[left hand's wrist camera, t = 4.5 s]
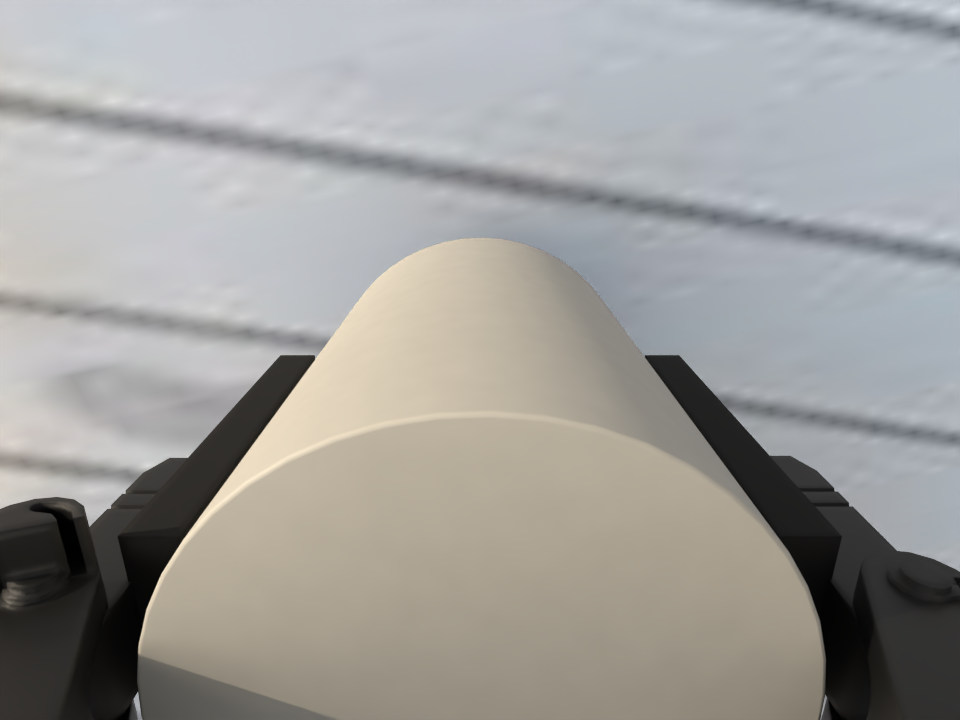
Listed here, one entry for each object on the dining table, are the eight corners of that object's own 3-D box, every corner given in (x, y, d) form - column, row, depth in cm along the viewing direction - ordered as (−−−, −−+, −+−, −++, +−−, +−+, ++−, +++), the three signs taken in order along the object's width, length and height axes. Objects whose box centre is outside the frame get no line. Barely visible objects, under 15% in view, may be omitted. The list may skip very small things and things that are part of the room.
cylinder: (627, 491, 17) (802, 914, 8) (363, 515, 17) (230, 952, 8) (619, 221, 14) (864, 371, 5) (311, 255, 15) (29, 454, 5)
